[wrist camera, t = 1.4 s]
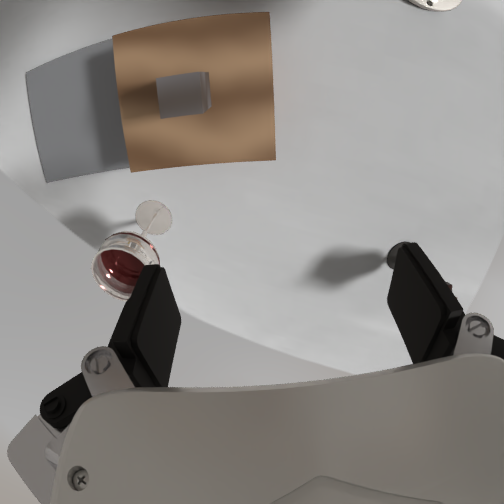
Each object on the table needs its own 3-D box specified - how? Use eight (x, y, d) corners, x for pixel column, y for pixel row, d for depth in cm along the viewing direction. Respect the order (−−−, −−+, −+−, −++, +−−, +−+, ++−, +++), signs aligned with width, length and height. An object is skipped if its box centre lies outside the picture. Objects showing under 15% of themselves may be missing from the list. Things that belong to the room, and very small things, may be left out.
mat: (28, 72, 25) (25, 72, 24) (119, 37, 24) (117, 37, 24) (48, 181, 33) (46, 182, 33) (136, 165, 33) (134, 166, 32)
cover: (116, 36, 20) (86, 31, 15) (268, 14, 20) (273, -2, 15) (134, 169, 28) (110, 192, 23) (275, 157, 28) (280, 178, 23)
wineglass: (122, 225, 38) (84, 282, 28) (141, 184, 34) (100, 234, 24) (165, 249, 40) (141, 312, 30) (188, 210, 36) (165, 269, 26)
